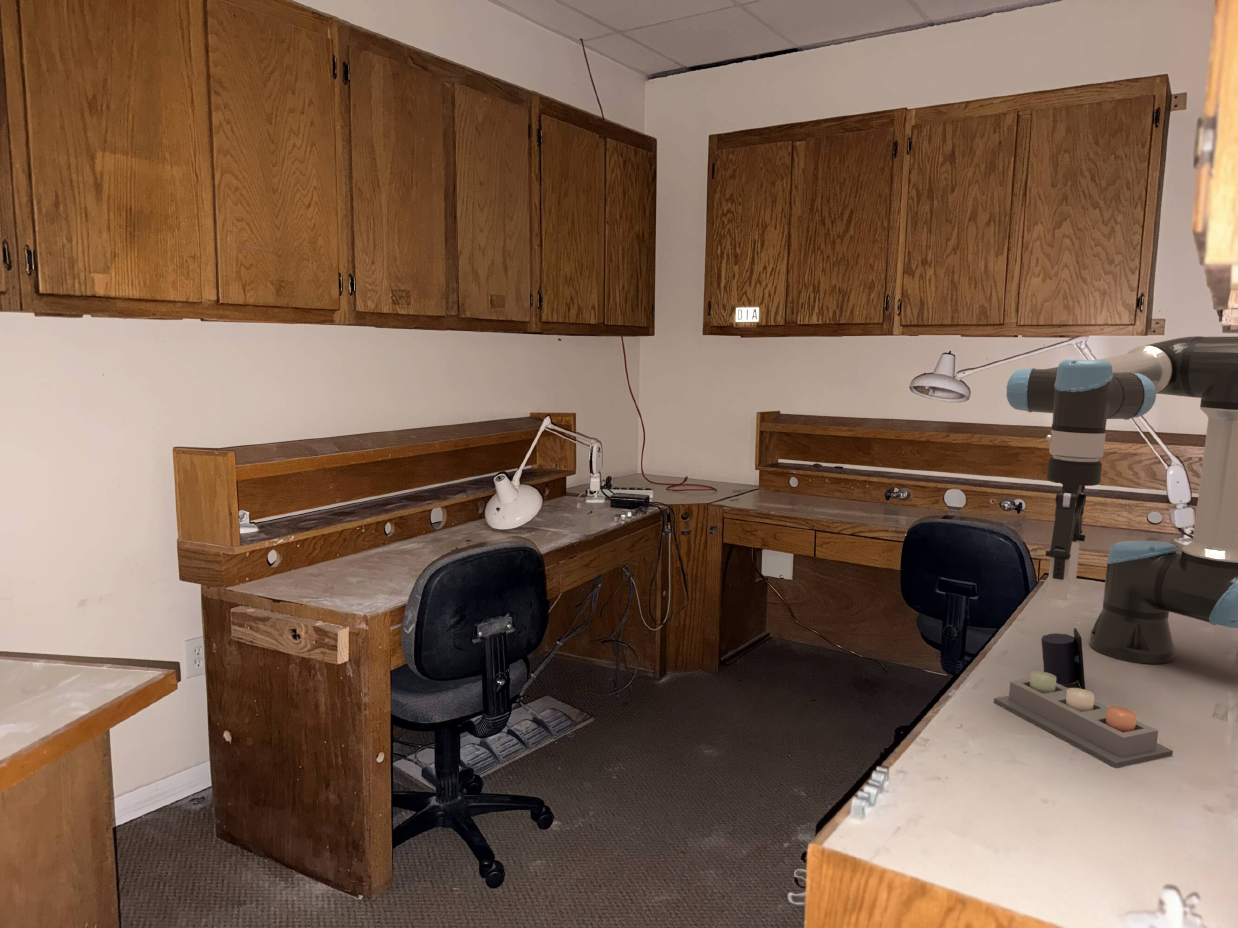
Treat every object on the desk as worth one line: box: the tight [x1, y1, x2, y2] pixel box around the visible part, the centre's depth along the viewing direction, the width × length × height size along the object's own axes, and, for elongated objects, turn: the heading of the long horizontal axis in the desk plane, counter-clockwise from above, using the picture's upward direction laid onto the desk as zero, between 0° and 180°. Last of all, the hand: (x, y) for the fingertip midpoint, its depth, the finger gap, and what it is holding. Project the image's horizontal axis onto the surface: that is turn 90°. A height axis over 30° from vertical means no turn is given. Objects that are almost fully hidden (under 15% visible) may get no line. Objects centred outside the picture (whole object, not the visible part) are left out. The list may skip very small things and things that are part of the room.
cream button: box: [1066, 687, 1095, 712], centre depth 138 cm, size 4×4×4 cm
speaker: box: [1040, 627, 1086, 690], centre depth 156 cm, size 8×6×10 cm
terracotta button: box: [1105, 705, 1138, 733], centre depth 131 cm, size 4×4×4 cm
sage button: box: [1029, 670, 1056, 694], centre depth 145 cm, size 4×4×4 cm
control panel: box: [993, 678, 1174, 769], centre depth 138 cm, size 24×12×4 cm, turn 20°
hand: (1061, 588), depth 135 cm, fingers open, 13 cm apart
